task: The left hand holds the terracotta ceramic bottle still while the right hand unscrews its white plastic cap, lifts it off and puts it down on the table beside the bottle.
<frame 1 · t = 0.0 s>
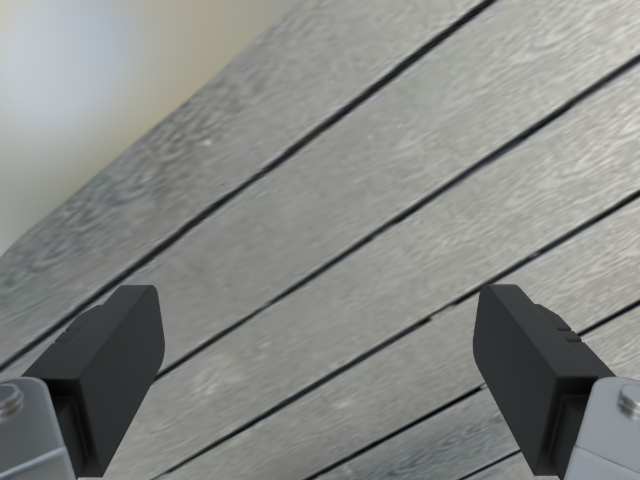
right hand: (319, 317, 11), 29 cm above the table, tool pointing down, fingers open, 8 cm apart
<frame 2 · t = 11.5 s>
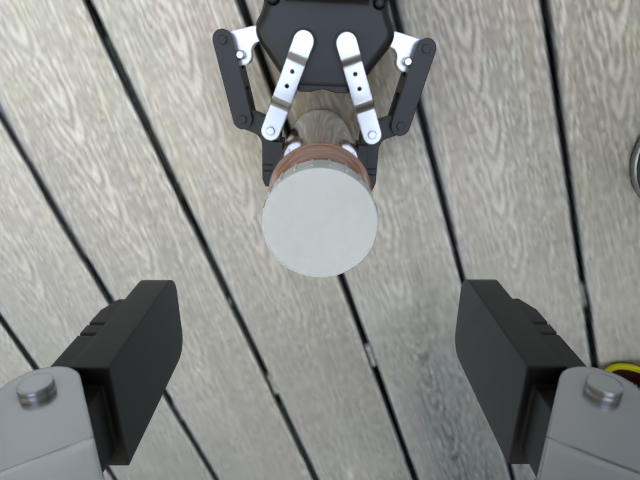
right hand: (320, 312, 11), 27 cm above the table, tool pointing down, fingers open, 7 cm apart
left hand: (319, 192, 32), fingers closed on bottle, 5 cm apart
bottle: (320, 140, 37), on the table, touching left hand
cap: (319, 222, 18), point 20 cm above the table, screwed on, not yet turned
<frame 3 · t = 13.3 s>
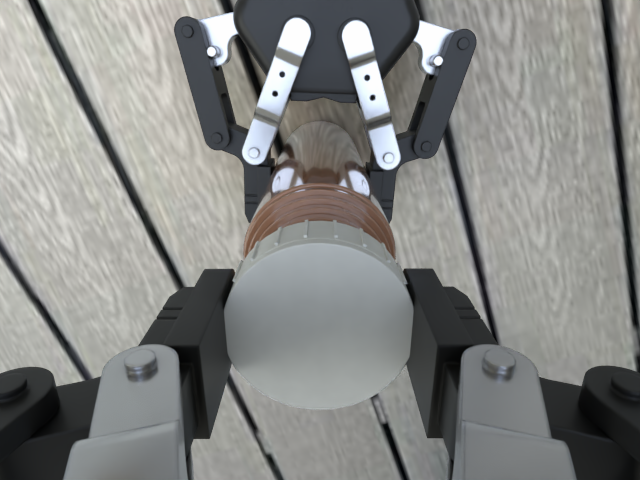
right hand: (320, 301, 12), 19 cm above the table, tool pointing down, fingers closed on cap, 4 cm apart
left hand: (318, 229, 25), fingers closed on bottle, 5 cm apart
bottle: (319, 159, 30), on the table, touching left hand
cap: (319, 326, 11), point 20 cm above the table, screwed on, not yet turned, touching right hand
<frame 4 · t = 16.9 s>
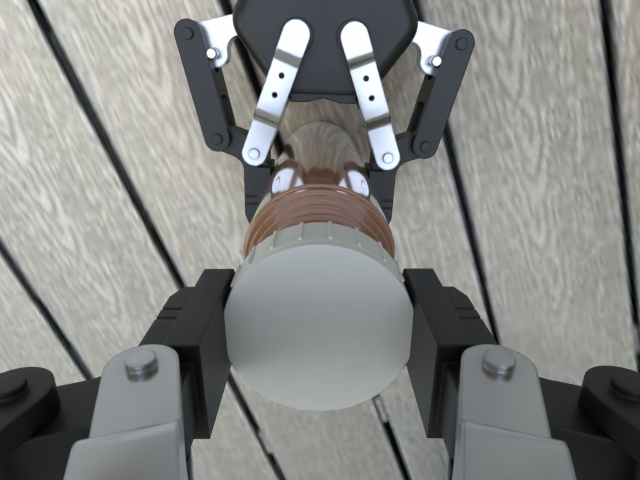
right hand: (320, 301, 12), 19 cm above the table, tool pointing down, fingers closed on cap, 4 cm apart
left hand: (318, 230, 25), fingers closed on bottle, 5 cm apart
bottle: (319, 159, 30), on the table, touching left hand
cap: (319, 328, 11), point 21 cm above the table, turned 88° so far, risen 0.1 cm, still on its thread, touching right hand
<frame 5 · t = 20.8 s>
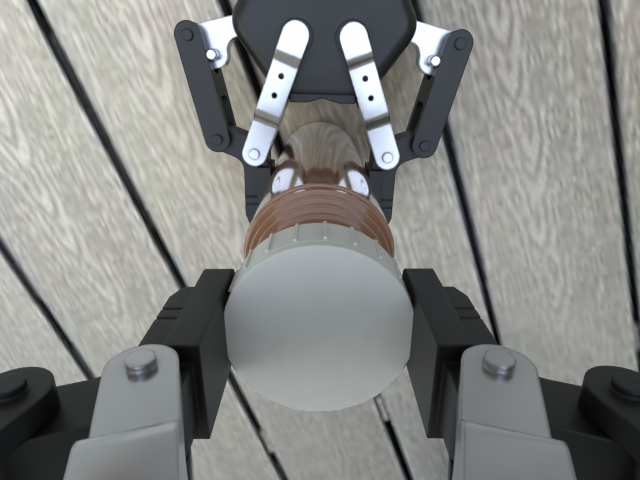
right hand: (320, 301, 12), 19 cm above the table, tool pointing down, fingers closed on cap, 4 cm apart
left hand: (318, 229, 25), fingers closed on bottle, 5 cm apart
bottle: (319, 159, 30), on the table, touching left hand
cap: (318, 328, 11), point 21 cm above the table, turned 177° so far, risen 0.2 cm, still on its thread, touching right hand
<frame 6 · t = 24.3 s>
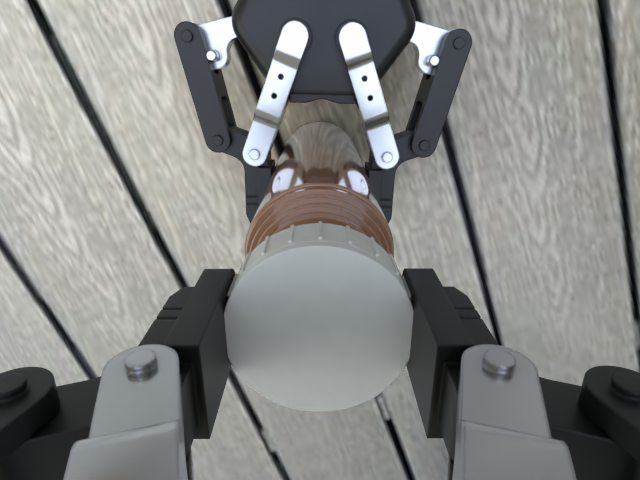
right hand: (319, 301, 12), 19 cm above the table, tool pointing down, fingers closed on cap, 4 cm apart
left hand: (319, 229, 25), fingers closed on bottle, 5 cm apart
bottle: (319, 159, 30), on the table, touching left hand
cap: (319, 328, 11), point 21 cm above the table, turned 265° so far, risen 0.3 cm, still on its thread, touching right hand
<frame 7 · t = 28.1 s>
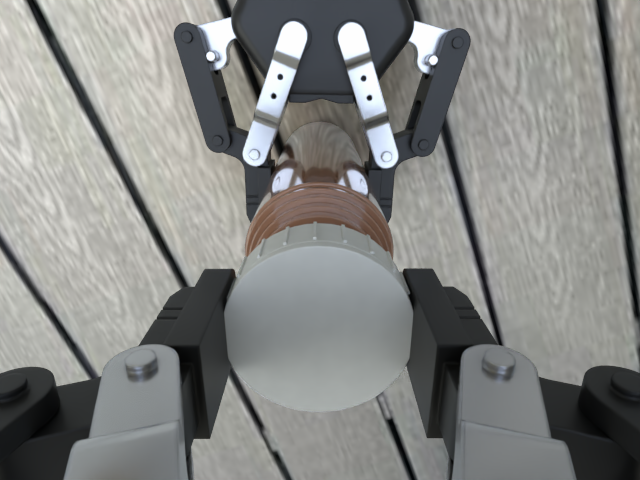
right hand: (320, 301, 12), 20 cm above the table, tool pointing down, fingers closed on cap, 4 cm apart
left hand: (319, 229, 25), fingers closed on bottle, 5 cm apart
bottle: (319, 159, 30), on the table, touching left hand
cap: (318, 329, 11), point 21 cm above the table, turned 353° so far, risen 0.4 cm, still on its thread, touching right hand
when the right hand's fingers open (1 cm above the table, at t = 39.4 s): cap stays where it is, point 1 cm above the table.
when the left hand's fingers open (6 cm above the table, at t = 40.5 s): bottle stays where it is, on the table.
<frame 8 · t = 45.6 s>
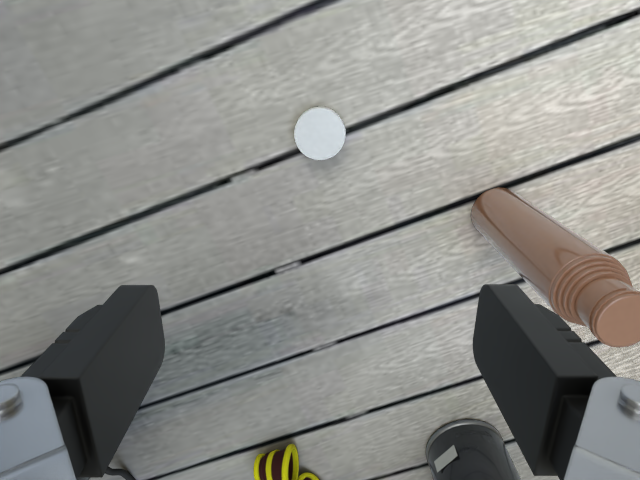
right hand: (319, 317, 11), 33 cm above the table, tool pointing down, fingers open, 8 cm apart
opera glasses: (290, 466, 57), on the table
bottle: (496, 212, 44), on the table
cap: (319, 134, 40), point 1 cm above the table, off its thread
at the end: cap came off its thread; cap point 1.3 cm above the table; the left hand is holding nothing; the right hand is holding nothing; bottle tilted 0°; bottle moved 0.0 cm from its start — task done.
